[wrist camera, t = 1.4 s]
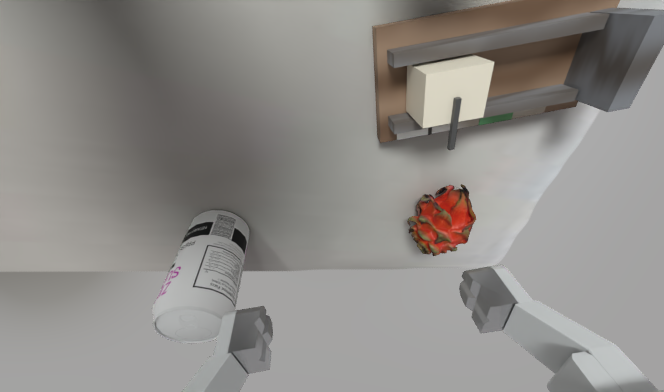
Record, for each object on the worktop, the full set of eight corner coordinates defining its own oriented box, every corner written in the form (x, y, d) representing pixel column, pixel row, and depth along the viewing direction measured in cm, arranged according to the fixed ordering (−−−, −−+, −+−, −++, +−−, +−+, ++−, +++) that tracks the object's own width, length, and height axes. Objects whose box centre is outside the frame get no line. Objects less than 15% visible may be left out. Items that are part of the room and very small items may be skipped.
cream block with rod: (407, 62, 27) (428, 76, 23) (465, 51, 27) (498, 63, 23) (405, 132, 32) (423, 154, 28) (455, 123, 32) (480, 144, 27)
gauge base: (372, 26, 26) (394, 35, 20) (612, -19, 26) (705, -23, 20) (377, 137, 34) (395, 168, 28) (565, 102, 34) (623, 126, 28)
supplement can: (252, 246, 43) (235, 343, 31) (197, 246, 42) (158, 348, 30) (248, 207, 38) (227, 304, 26) (186, 206, 37) (134, 307, 25)
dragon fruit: (403, 227, 46) (436, 165, 41) (451, 253, 44) (492, 190, 39) (392, 249, 39) (431, 176, 34) (448, 281, 37) (499, 207, 32)
